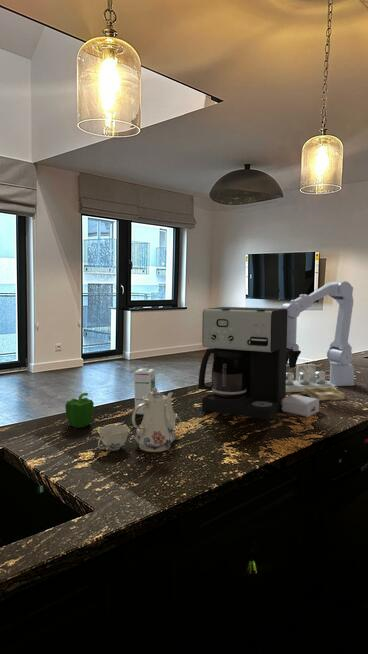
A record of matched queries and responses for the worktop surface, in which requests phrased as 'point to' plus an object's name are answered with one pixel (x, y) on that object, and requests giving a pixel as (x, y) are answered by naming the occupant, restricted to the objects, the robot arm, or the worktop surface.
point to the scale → (300, 388)
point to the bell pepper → (79, 411)
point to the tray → (324, 393)
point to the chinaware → (145, 426)
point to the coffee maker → (245, 360)
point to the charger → (300, 405)
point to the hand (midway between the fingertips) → (288, 365)
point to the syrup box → (143, 385)
